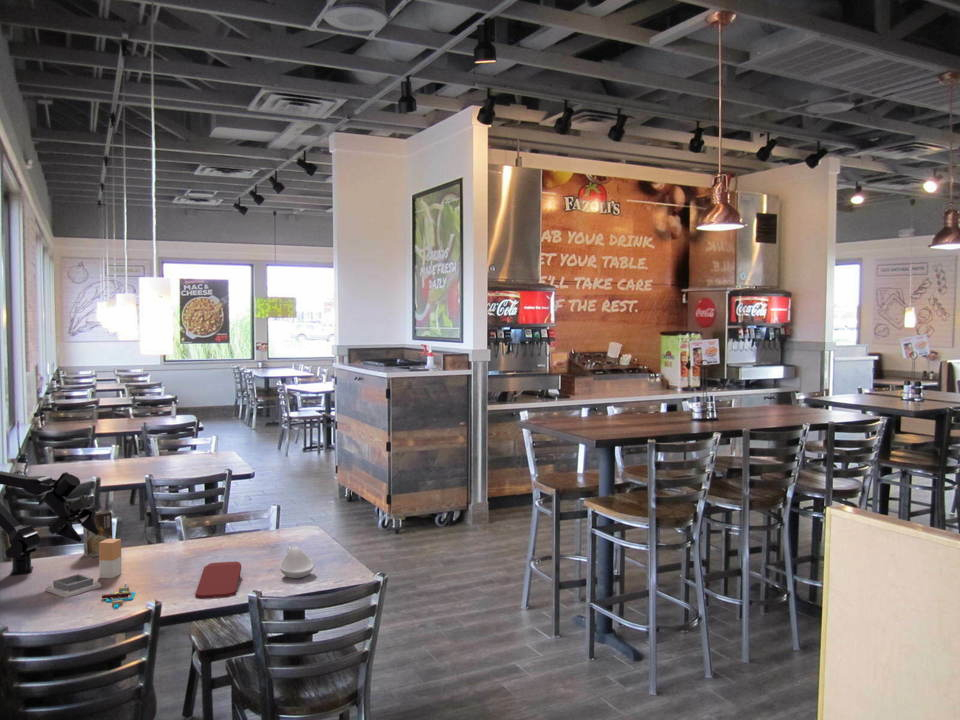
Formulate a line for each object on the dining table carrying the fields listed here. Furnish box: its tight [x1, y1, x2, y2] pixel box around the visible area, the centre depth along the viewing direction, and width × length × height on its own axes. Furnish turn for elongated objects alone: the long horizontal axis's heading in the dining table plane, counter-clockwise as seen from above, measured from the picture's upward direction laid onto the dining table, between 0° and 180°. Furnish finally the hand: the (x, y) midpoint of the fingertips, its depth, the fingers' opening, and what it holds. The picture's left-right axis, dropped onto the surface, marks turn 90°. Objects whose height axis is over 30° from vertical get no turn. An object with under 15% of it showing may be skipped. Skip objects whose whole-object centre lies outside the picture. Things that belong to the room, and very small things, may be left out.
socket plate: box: [44, 573, 102, 598], centre depth 246 cm, size 12×12×3 cm
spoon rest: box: [279, 546, 315, 579], centre depth 266 cm, size 24×12×7 cm, turn 21°
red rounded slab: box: [195, 561, 242, 599], centre depth 251 cm, size 12×5×26 cm
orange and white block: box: [98, 538, 122, 579], centre depth 259 cm, size 5×5×12 cm
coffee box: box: [82, 509, 113, 558], centre depth 285 cm, size 9×6×16 cm
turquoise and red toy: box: [101, 582, 136, 610], centre depth 238 cm, size 20×5×9 cm
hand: (89, 537), depth 260 cm, fingers open, 9 cm apart
